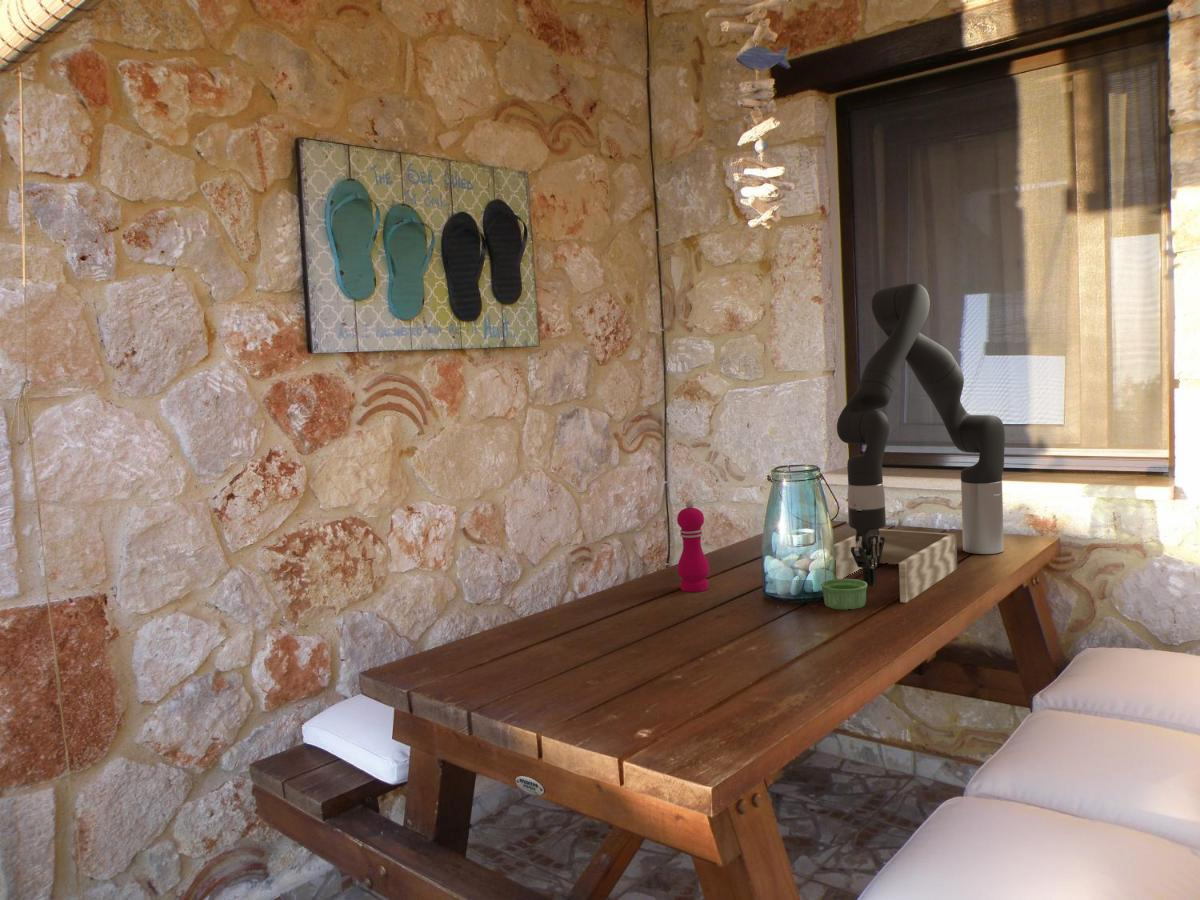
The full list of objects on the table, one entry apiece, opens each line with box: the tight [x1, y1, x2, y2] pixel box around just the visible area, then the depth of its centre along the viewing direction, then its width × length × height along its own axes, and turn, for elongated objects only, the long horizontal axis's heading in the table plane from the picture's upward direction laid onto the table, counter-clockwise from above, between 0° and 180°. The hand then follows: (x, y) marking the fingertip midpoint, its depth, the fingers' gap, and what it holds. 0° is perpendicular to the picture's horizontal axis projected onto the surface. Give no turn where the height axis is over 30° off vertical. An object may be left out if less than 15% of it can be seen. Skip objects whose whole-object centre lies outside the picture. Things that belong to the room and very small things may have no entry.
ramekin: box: [821, 578, 868, 611], centre depth 184 cm, size 9×9×4 cm
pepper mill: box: [676, 500, 711, 593], centre depth 204 cm, size 7×7×20 cm
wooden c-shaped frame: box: [833, 528, 958, 604], centre depth 201 cm, size 32×20×8 cm, turn 141°
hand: (869, 585), depth 193 cm, fingers closed
